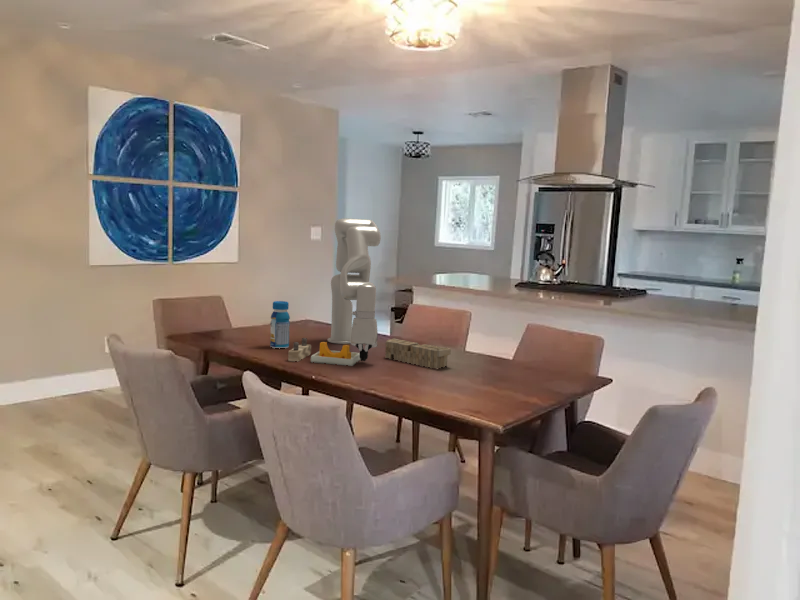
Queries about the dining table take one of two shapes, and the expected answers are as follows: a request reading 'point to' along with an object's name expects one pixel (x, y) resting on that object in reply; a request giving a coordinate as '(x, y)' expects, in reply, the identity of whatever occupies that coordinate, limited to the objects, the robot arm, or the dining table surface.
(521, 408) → the dining table surface
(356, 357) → the tray
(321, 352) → the pipe clamp
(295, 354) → the block
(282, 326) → the beverage bottle
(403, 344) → the block tower
